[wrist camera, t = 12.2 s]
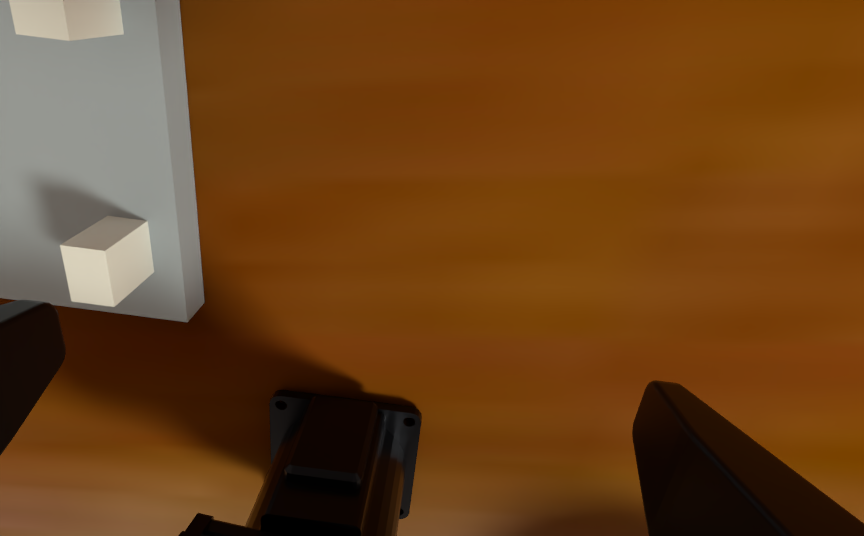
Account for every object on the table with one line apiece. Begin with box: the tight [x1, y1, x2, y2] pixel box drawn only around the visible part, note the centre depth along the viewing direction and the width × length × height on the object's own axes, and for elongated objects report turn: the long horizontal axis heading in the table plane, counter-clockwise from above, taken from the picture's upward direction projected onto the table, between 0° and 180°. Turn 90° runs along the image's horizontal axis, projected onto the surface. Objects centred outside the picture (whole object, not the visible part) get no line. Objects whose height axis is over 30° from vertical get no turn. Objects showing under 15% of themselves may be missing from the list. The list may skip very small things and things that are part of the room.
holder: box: [0, 0, 205, 322], centre depth 18 cm, size 14×10×4 cm
